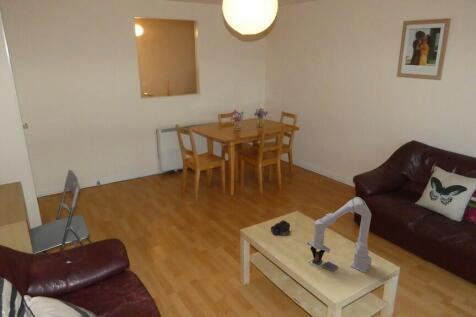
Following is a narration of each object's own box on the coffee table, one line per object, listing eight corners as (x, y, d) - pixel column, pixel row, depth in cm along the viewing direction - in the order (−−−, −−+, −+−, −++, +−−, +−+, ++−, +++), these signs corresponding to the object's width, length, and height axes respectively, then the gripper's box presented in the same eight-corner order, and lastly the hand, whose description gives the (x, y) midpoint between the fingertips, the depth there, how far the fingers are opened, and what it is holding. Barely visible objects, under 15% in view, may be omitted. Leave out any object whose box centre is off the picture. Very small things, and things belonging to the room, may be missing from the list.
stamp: (322, 262, 210) (322, 252, 208) (319, 265, 207) (319, 255, 205) (315, 259, 213) (316, 249, 211) (312, 263, 209) (312, 253, 207)
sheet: (327, 262, 210) (327, 262, 210) (319, 269, 204) (319, 268, 204) (315, 256, 216) (315, 256, 216) (306, 262, 210) (306, 262, 210)
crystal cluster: (267, 230, 249) (267, 218, 245) (283, 224, 254) (283, 213, 250) (277, 240, 238) (277, 228, 234) (293, 234, 243) (293, 222, 239)
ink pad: (338, 267, 205) (338, 265, 205) (332, 272, 201) (333, 270, 201) (328, 262, 210) (328, 260, 210) (322, 266, 206) (322, 265, 206)
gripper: (333, 240, 203) (331, 259, 207) (311, 232, 212) (309, 251, 216) (328, 245, 198) (326, 265, 202) (305, 237, 207) (304, 256, 211)
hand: (317, 258), depth 209 cm, fingers closed on stamp, 3 cm apart
